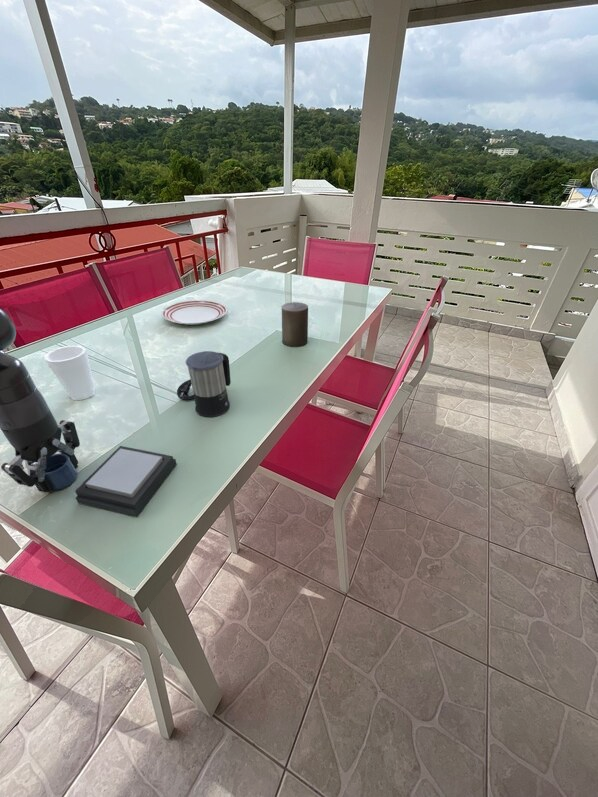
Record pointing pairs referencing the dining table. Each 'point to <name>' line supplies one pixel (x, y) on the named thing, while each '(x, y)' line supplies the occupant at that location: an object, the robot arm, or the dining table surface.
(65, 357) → the foam cup
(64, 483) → the blue cup
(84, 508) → the dining table surface
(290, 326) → the pillar candle
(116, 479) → the pan
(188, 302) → the dinner plate
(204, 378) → the milk frother
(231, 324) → the dining table surface
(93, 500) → the scale
